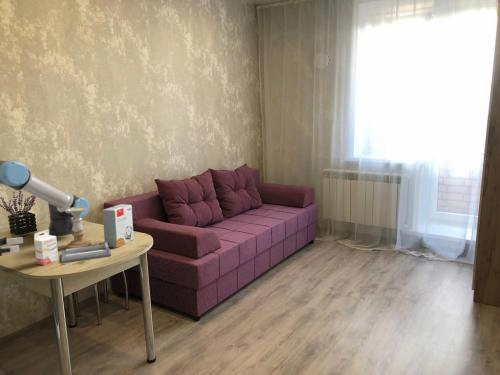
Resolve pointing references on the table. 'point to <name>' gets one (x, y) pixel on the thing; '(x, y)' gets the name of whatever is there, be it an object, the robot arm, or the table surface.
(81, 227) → the candle holder
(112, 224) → the hard drive box
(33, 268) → the table surface
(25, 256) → the table surface
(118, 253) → the table surface
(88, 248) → the rail cradle
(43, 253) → the ink cartridge box
